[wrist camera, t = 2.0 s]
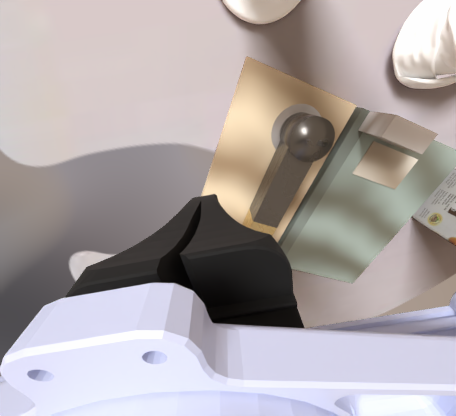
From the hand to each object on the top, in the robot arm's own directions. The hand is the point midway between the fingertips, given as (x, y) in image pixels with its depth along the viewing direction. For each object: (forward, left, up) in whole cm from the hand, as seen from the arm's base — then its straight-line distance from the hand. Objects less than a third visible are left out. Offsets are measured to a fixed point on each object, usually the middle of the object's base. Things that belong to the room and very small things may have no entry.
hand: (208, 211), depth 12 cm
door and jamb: (0, -11, -9) cm, 15 cm away
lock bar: (+1, -6, -8) cm, 10 cm away
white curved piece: (+15, -14, -10) cm, 22 cm away
